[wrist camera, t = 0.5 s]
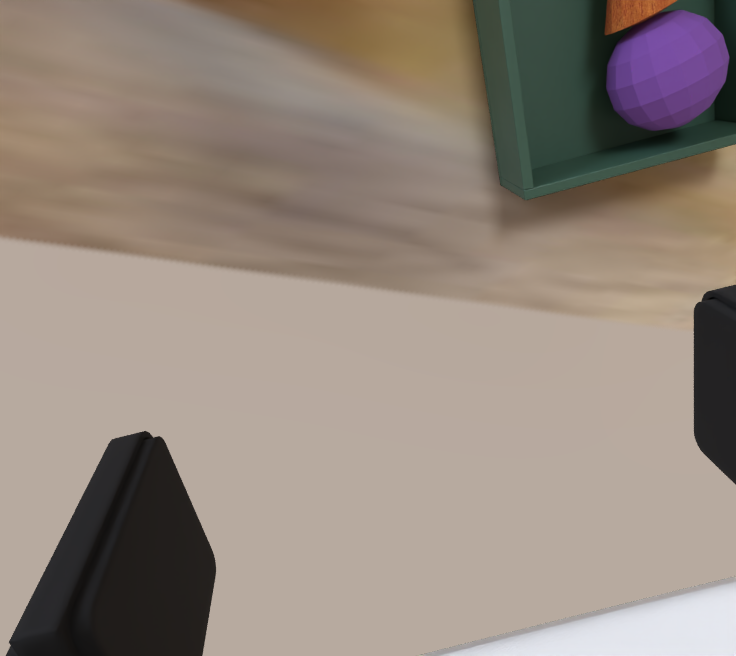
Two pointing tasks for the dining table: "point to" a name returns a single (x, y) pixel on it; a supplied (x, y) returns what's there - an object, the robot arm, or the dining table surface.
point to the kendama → (663, 63)
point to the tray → (580, 95)
